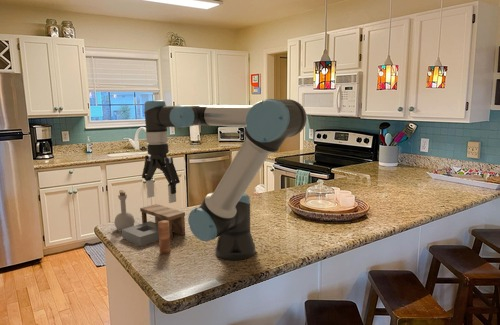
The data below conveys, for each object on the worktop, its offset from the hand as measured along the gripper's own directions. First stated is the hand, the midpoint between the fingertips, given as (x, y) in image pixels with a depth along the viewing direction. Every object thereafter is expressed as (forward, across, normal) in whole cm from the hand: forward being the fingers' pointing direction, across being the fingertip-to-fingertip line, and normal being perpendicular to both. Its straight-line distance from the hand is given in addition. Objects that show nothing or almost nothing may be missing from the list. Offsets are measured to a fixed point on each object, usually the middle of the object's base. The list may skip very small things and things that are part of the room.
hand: (161, 199), depth 138 cm
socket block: (+20, +18, -4) cm, 28 cm away
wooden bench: (+20, +19, -13) cm, 30 cm away
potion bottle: (+20, +36, -4) cm, 41 cm away
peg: (+21, 0, 0) cm, 21 cm away
